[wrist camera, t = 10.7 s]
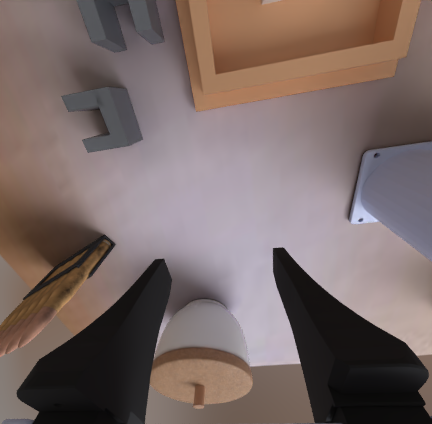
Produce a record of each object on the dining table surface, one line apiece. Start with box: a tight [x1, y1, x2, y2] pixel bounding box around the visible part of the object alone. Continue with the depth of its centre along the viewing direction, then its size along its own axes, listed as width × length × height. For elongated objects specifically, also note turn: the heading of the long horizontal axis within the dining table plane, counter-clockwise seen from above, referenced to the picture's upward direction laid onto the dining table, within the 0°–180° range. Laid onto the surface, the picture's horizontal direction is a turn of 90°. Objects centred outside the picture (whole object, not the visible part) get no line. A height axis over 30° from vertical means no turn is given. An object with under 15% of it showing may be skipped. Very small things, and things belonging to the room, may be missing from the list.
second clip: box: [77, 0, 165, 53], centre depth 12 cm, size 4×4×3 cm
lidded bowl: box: [150, 299, 253, 409], centre depth 26 cm, size 13×13×11 cm
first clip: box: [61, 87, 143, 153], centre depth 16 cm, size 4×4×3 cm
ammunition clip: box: [0, 235, 116, 357], centre depth 20 cm, size 11×2×12 cm, turn 124°
